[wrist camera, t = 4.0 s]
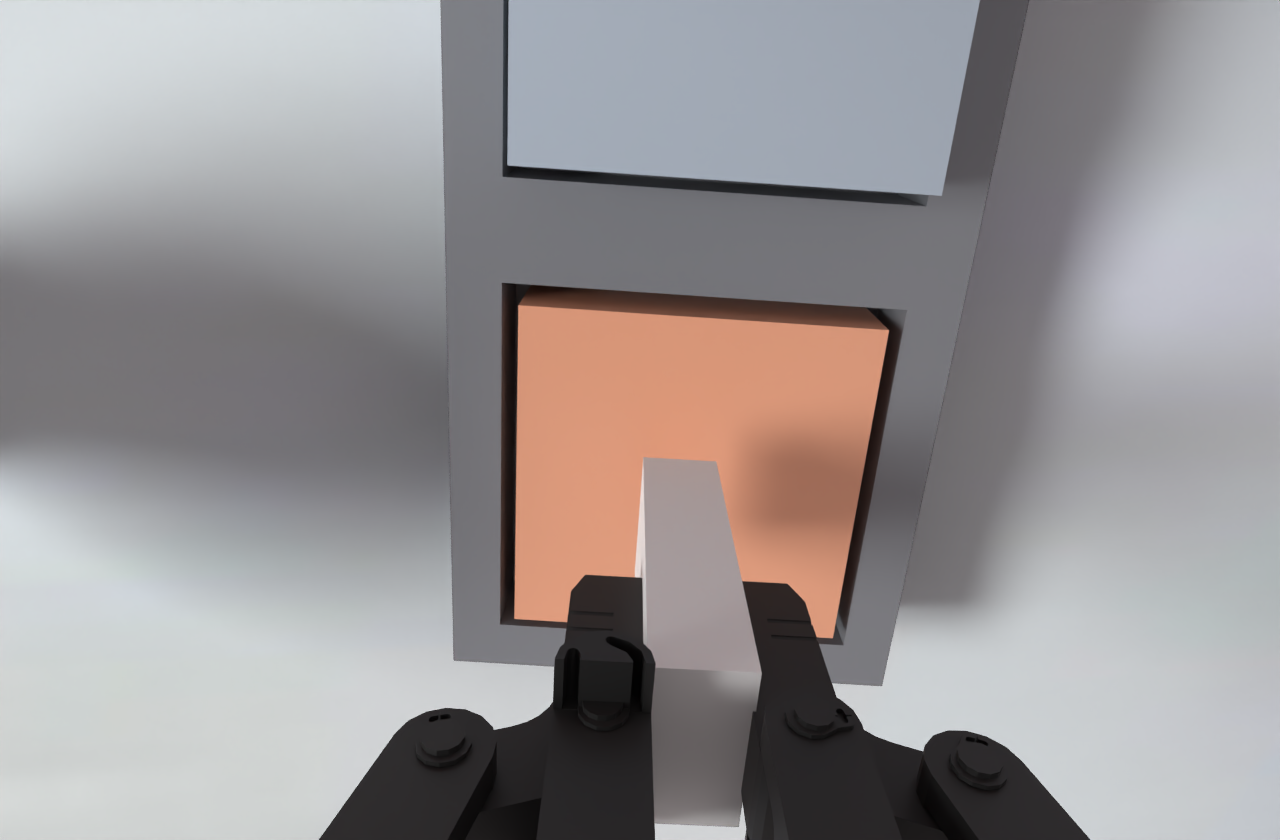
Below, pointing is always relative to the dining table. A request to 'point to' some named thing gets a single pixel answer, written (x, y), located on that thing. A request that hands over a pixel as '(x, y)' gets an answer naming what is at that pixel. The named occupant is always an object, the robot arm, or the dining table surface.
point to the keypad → (698, 266)
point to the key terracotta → (690, 432)
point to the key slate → (741, 89)
